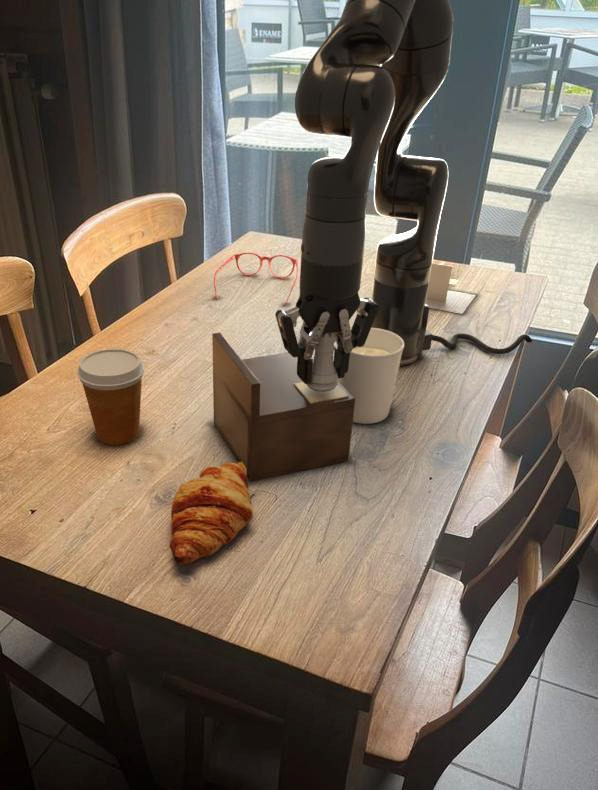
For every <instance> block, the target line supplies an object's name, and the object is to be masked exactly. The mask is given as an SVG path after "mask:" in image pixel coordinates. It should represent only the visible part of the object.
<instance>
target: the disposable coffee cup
mask: <svg viewBox="0 0 598 790" xmlns="http://www.w3.org/2000/svg"><path fill="white" fill-rule="evenodd" d="M145 368H146V367H145V364H144V363H143V361H142V360H141V357H140V356H139V354H137V353H135V352H134V351H132V350H129V349H125V348H113V347H112V348H105V349H104V348H102V349H97V350H94V351H92V352H90V353H87V354H86V355H84V356H83V357H82V358H81V359H80V360H79V363H78V368H77V369H76V375H77V377H78V379H79V380H80V382H81V384H82V388H83V391H84V394H85V397H86V402H87V405H88V408H89V412H90V415H91V419H92V422H93V426H94V430H95V433H96V437H97V439H98V441H100V442H102V443H103V444H106V445H113V446H119V445H124V444H125V445H126V444H129V443H131V442H133V441H134V440H136V439H137V438H138V437H139V434H140V418H141V402H142V401H141V400H142V381H143V376H144V374H145V370H146V369H145Z"/></svg>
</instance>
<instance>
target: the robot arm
mask: <svg viewBox="0 0 598 790" xmlns="http://www.w3.org/2000/svg"><path fill="white" fill-rule="evenodd" d="M453 28H454V13H453V9H452V5H451V2H450V0H346V3H345V5H344V8H343V11H342V13H341V16H340V18H339V21H338V22H337V23H336V24H335V26H334V27H333V28H332V30H331V31H330V32H329V33H328V36H327V37H326V38H325V40H324V41H323V43H322V44H321V45H320V46H319V48H318V49H317V50H316V51H315V53H314V55H313V56H312V57H311V58H310V61H309V62H308V63H307V64H306V66H305V68H304V70H303V71H302V74H301V76H300V79H299V81H298V84H297V87H296V91H295V96H294V97H295V98H294V110H295V115H296V118H297V121H298V123H299V125H300V126H301V127H302V129H304V130H305V131H306V132H308V133H311V134H313V135H321V136H330V137H339V138H348V139H349V138H351V141H350V146H349V148H348V150H347V152H346V153H345V154H344V155H336V156H329V157H322V158H320V159H317V160H314V162H313V163H312V164H311V165H310V167H309V169H308V174H307V184H306V200H305V201H306V202H305V217H304V223H303V227H302V228H303V229H302V234H301V236H302V237H301V245H300V252H301V253H300V270H299V297H298V299H297V301H296V303H295V306H294V307H292V308H289V309H288V310H283V309H282V308H281V309H277V310H276V312H275V314H274V315H275V319H276V323H277V326H278V330H279V334H280V337H281V341H282V346H283V348H284V350H286V352H289V354H290V355H291V356H292V357H297V375H298V377H299V378H300V379H301V380H302V381H303V382H304V383H305V384H309V383H311V378H312V364H313V359H312V358H311V357H312V355H313V356H314V353H315V346H316V345H317V344H318V343H319V341H320V339H321V336H322V334H325V333H327V332H336V335H337V336H338V339H337V340H336V341H335V343H336V345H337V347H335V350H334V351H333V363H334V367H335V369H336V372H337V374H338V378H344V376H345V373H347V371H348V367H349V358H350V352H351V351H352V349H353V348H355V347H357V346H358V347H362V346H364V344H365V342H366V340H367V337H368V335H369V332H370V329H371V328H379V329H384V330H387V331H390V332H393V333H395V334H397V335H398V336H400V337H401V338H402V339H403V341H404V349H403V352H402V356H401V361H400V366H399V367H401V366H406V365H409V364H412V363H414V362H415V361H417V359H422V356H423V352H424V351H429V350H431V346H432V342H433V341H434V342H437V343H440V344H441V345H442V346H444V348H447V349H454V348H455V347H456V346H457V340H461V339H462V340H466V341H469V342H471V343H473V344H475V345H476V346H477V347H478V348H480V349H481V350H483V351H485V352H487V353H490V354H494V355H505V354H509V353H511V352H513V351H514V350H516V349H517V348H518V347H519V346H520V344H522V342H523V341H525V342H526V343H532V342H533V340H532V338H531V336H529V335H528V334H520V336H518V337H517V339H515V341H514V342H513V343H512V344H510V345H509V346H507V347H505V348H504V347H503V348H496V347H491V346H489V345H487V344H486V343H484V342H483V341H482V340H480V339H479V338H477V337H476V336H473V335H472V334H469V333H456V334H454V335H453V336H452V337H451V340H450V342H449V340H447V339H446V338H445V337H442V336H439V335H434V334H433V333H432V332H430V331H429V330H428V329H427V327H428V321H429V315H430V308H429V307H428V306H427V305H426V297H427V291H428V285H429V279H430V273H431V266H432V263H433V261H434V255H435V249H436V243H437V238H438V237H437V236H438V231H439V226H440V221H441V215H442V211H443V207H444V203H445V199H446V193H447V189H448V183H449V167H448V163H447V162H446V161H445V160H444V159H442V158H436V157H427V156H416V155H406V154H405V155H404V154H403V153H402V145H403V142H404V139H405V137H406V135H407V134H408V132H409V130H410V128H411V127H412V125H413V124H414V122H415V120H417V118H418V116H420V114H421V113H422V111H423V110H424V108H425V107H426V106H427V105H428V103H429V102H430V100H432V98H434V95H435V94H436V93H437V91H438V90H439V88H440V87H441V85H442V84H443V82H444V80H445V78H446V76H447V73H448V71H449V66H450V61H451V60H450V59H451V51H452V50H451V49H452V41H453V40H452V38H453V30H454V29H453ZM375 161H376V163H375ZM375 164H376V165H375ZM374 165H375V175H374V187H373V202H374V208H375V211H376V213H377V214H379V216H382V217H386V218H392V219H400V220H406V221H407V220H409V221H415V222H417V225H416V227H414V228H412V229H411V230H408V231H406V232H403V233H398V234H393V235H390V236H387V237H385V238H382V240H380V241H379V242H378V244H377V248H376V254H375V263H374V273H373V279H372V280H373V281H372V290H371V297H370V298H369V297H368V296H367V297H364V298H360V295H359V291H360V289H361V283H362V273H363V265H364V264H363V263H364V255H365V246H366V245H365V244H366V231H367V230H366V215H367V204H368V196H369V195H368V194H369V186H370V180H371V175H372V172H373V168H374ZM355 313H356V316H355V319H354V322H353V324H352V327H351V324H350V320H351V319H352V317H353V316H354V314H355ZM299 317H300V318H301V320H302V325H301V327H300V330H299V334H300V336H299V339H297V335H296V332H295V331H296V330H295V328H296V327H297V323H298V321H297V320H298V318H299Z"/></svg>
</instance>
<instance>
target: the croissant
mask: <svg viewBox="0 0 598 790" xmlns="http://www.w3.org/2000/svg"><path fill="white" fill-rule="evenodd" d="M246 470H247V469H246V467H245V466H244V464H243V463H242V462H238V461H237V463H236V462H224V463H221V465H220V466H218V467H216V466H208V467H205V468H204V469H203V470H201V471H200V473H199V476H198V477H197V478H196V477H195V478H193V479H189V480H188V481H186V482H183V483H180V485H179V487H178V489H177V490H176V492H175V494H174V496H173V499H172V503H171V511H170V517H171V518H170V519H171V524H170V526H171V527H170V529H171V531H170V532H171V533H170V534H171V537H170V541H169V548H170V551H171V554H172V558H173V560H174V561H175V562H176V563H177V564H181V565H183V564H185V565H186V564H191V563H192V562H194V561H196V560H198V559H200V558H206V557H209V556H212V555H213V554H215V553H216V552H217V551H219V550H220V548H221V547H223V546H224V545H227V544H229V543H230V542H231V541H232V540H233V539H234V538H235V537H236V536H237V534H238V533H239V531H241V530H242V529H244V527H245V526H247V524H249V522H250V520H251V519H252V518H253V515H254V511H253V506H252V500H251V496H250V495H251V494H250V493H249V490H248V489H249V482H248V481H249V480H248V477H247V476H246Z"/></svg>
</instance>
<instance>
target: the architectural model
mask: <svg viewBox="0 0 598 790" xmlns="http://www.w3.org/2000/svg"><path fill="white" fill-rule="evenodd" d="M444 263H445V261H442V262H441V263H436V262H432V266H431V273H430V279H429V285H428V291H427V297H426V305H427V306H428V307H429V309H430V308H431V309H435V310H439V311H440V310H441V311H445V312H450V313H456V314H460V315H463V313H465V311H466V309H467V308H468V306H469V305H470V304H471V302H472V301H473V300H474V299H475V297H476V294H472V293H466V292H461V291H455V290H449V287H453V288H455V287H456V286H457V285H458V283H459V282H460V280H459V279H456V278H455V279H454V278H451V276H452V270H453V265H447V264H444Z"/></svg>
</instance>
